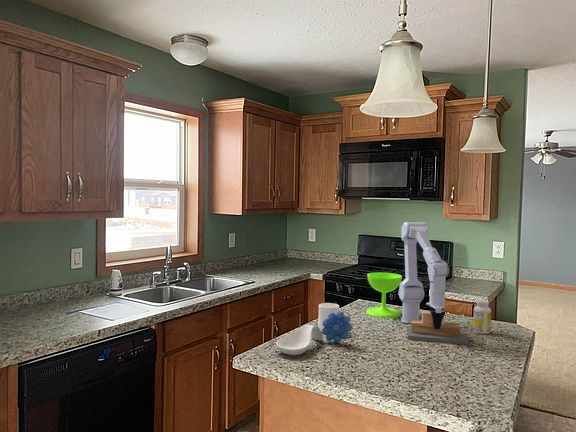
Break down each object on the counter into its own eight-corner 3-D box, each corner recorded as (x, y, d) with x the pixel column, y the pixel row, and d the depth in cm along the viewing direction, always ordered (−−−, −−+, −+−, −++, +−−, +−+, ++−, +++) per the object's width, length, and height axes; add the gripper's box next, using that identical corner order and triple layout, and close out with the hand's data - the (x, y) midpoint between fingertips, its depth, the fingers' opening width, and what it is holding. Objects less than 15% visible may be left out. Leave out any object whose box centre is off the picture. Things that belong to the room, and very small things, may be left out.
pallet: (411, 329, 184) (411, 319, 184) (457, 332, 180) (458, 322, 180) (411, 332, 179) (411, 322, 179) (459, 336, 175) (460, 326, 175)
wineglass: (394, 319, 204) (395, 279, 203) (360, 314, 212) (361, 275, 211) (405, 312, 217) (406, 274, 217) (373, 307, 226) (374, 271, 225)
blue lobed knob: (354, 341, 172) (355, 310, 171) (350, 347, 165) (351, 314, 165) (324, 337, 176) (325, 306, 175) (319, 342, 169) (320, 310, 169)
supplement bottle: (487, 330, 190) (488, 299, 190) (492, 334, 184) (494, 303, 183) (470, 329, 191) (471, 298, 190) (475, 334, 184) (476, 302, 184)
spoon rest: (299, 361, 151) (299, 340, 150) (269, 354, 157) (269, 334, 156) (330, 342, 171) (331, 323, 170) (303, 337, 177) (303, 319, 176)
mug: (323, 324, 194) (324, 300, 194) (342, 326, 192) (343, 302, 191) (315, 331, 183) (316, 306, 183) (335, 334, 180) (336, 308, 180)
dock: (406, 329, 189) (406, 325, 189) (462, 333, 184) (462, 330, 184) (407, 339, 176) (407, 335, 175) (468, 344, 171) (468, 340, 171)
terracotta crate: (421, 320, 183) (422, 310, 182) (432, 321, 182) (432, 311, 182) (422, 323, 179) (422, 313, 179) (433, 323, 178) (433, 313, 178)
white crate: (432, 321, 182) (432, 311, 182) (442, 321, 181) (443, 312, 181) (433, 323, 178) (433, 313, 178) (444, 324, 177) (444, 314, 177)
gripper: (425, 288, 187) (424, 321, 188) (428, 295, 173) (427, 331, 174) (443, 289, 185) (442, 322, 186) (447, 297, 171) (446, 332, 172)
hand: (436, 326), depth 180 cm, fingers closed on pallet, 5 cm apart
